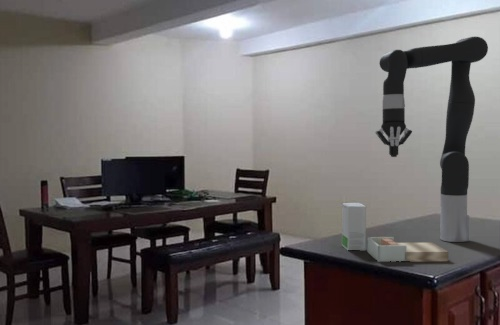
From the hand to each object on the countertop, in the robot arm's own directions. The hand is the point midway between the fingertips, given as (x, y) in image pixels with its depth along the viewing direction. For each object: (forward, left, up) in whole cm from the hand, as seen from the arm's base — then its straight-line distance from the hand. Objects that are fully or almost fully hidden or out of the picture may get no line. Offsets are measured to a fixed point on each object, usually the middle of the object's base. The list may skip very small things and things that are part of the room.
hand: (393, 156), depth 174 cm
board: (-3, +17, -32) cm, 36 cm away
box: (+7, +17, -32) cm, 37 cm away
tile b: (+5, +19, -29) cm, 35 cm away
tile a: (+5, +14, -29) cm, 33 cm away
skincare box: (+15, +4, -32) cm, 36 cm away
